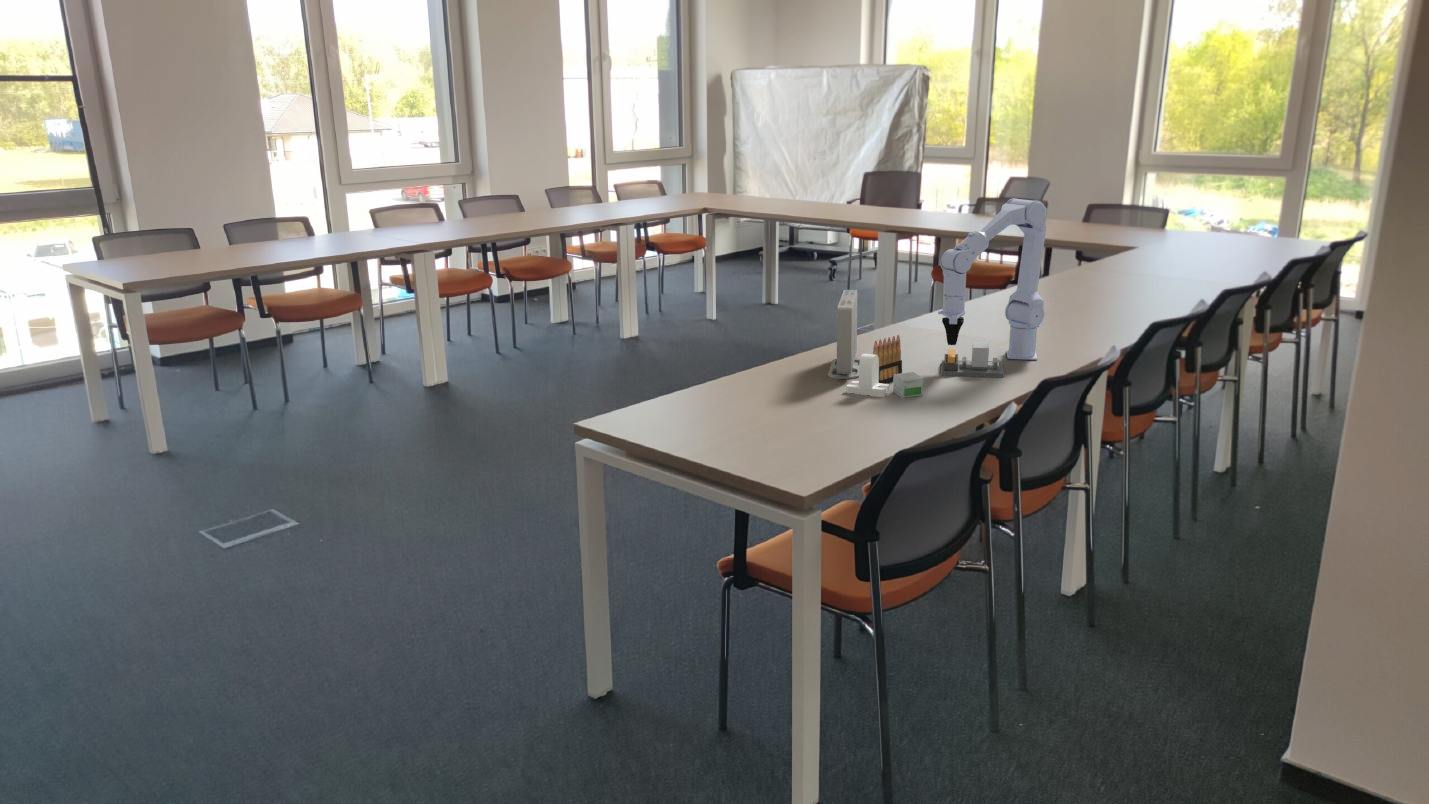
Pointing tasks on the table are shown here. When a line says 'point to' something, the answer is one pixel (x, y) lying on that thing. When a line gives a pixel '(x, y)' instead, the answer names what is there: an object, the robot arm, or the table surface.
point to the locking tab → (951, 356)
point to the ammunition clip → (888, 359)
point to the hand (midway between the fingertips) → (951, 344)
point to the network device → (846, 337)
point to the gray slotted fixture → (966, 364)
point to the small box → (908, 384)
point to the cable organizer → (868, 378)
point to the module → (980, 355)
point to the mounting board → (973, 371)
